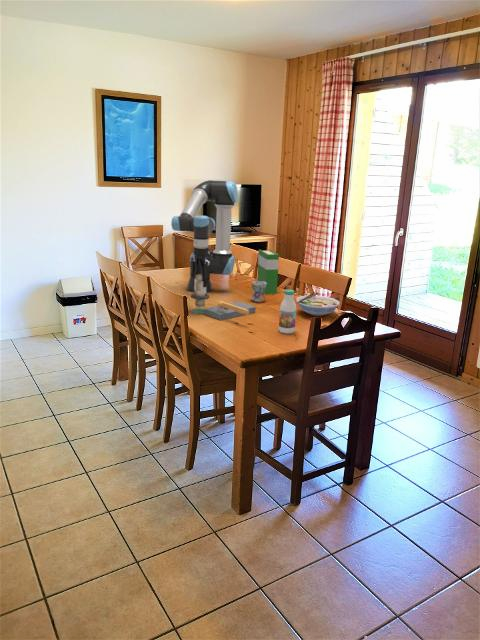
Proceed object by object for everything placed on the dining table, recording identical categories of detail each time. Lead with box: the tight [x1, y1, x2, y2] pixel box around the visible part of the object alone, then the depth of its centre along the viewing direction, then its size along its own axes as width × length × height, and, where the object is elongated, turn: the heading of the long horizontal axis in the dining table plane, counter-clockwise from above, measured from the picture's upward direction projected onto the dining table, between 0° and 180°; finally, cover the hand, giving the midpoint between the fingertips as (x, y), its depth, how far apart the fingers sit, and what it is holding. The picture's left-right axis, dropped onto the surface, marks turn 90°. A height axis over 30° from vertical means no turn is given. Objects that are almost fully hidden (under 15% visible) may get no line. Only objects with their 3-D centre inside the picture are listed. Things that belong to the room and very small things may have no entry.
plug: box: [190, 274, 210, 308], centre depth 259 cm, size 10×10×16 cm
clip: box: [217, 300, 250, 316], centre depth 247 cm, size 4×21×2 cm, turn 44°
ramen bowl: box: [296, 292, 340, 317], centre depth 265 cm, size 25×23×8 cm
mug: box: [250, 280, 267, 303], centre depth 287 cm, size 12×9×11 cm
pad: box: [190, 307, 206, 315], centre depth 263 cm, size 9×9×1 cm
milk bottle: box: [278, 289, 297, 335], centre depth 234 cm, size 8×8×20 cm
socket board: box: [203, 301, 257, 321], centre depth 261 cm, size 13×24×6 cm, turn 132°
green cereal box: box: [256, 248, 280, 295], centre depth 308 cm, size 18×7×24 cm, turn 14°
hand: (200, 291), depth 260 cm, fingers closed on plug, 5 cm apart
